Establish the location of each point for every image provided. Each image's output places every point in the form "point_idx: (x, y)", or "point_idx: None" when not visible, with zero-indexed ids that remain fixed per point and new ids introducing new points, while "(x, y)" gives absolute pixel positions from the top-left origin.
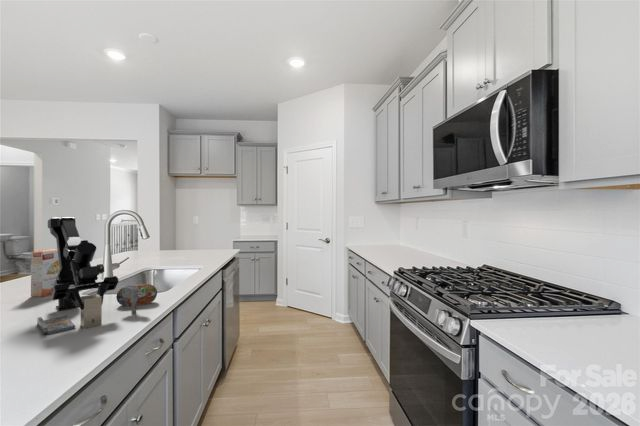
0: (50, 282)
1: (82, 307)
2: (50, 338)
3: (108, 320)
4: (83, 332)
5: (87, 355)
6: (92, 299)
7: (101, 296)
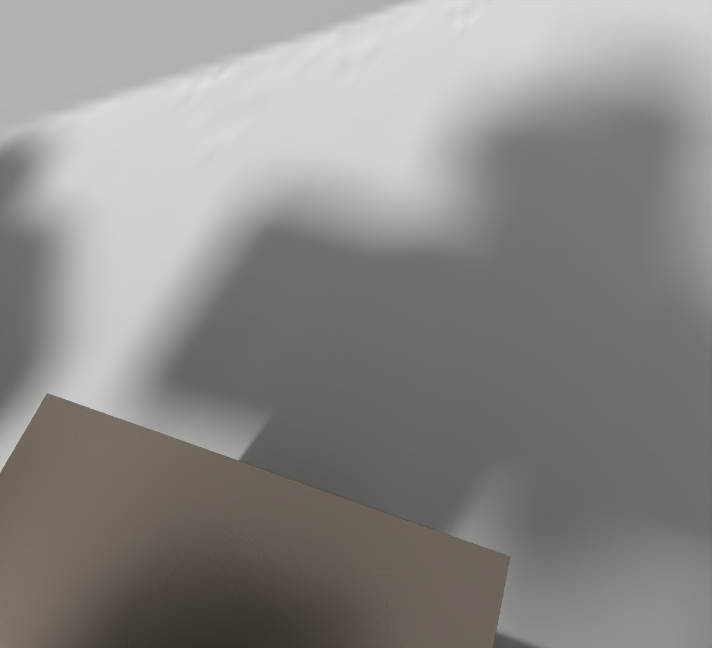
0: None
1: None
2: (703, 573)
3: None
4: (450, 422)
5: (622, 27)
6: (288, 481)
7: (48, 397)
